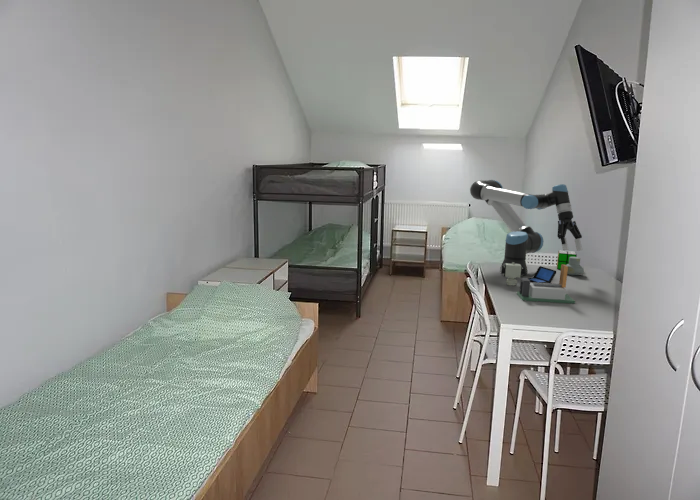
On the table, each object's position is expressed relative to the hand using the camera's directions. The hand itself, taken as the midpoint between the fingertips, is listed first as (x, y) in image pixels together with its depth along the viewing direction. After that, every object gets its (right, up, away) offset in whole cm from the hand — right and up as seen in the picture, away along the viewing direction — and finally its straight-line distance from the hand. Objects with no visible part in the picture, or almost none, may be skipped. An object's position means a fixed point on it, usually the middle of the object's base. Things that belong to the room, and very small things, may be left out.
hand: (572, 250), depth 293 cm
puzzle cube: (+11, -11, +37) cm, 40 cm away
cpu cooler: (-27, -23, -33) cm, 49 cm away
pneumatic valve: (-36, -18, -9) cm, 41 cm away
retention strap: (-26, -17, -35) cm, 46 cm away
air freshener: (+9, -14, +21) cm, 27 cm away
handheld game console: (-18, -17, 0) cm, 25 cm away
